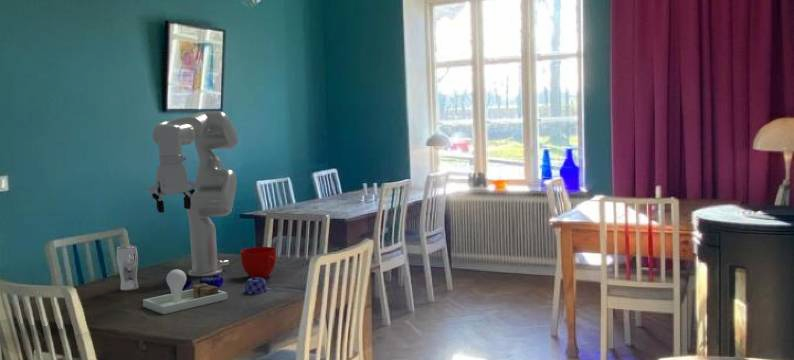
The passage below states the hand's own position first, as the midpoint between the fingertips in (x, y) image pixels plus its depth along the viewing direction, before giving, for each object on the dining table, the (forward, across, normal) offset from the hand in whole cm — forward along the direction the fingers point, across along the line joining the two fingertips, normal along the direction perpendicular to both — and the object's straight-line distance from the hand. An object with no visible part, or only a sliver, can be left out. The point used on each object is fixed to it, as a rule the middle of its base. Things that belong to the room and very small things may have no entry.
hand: (174, 210), depth 245 cm
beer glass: (+28, +10, -18) cm, 35 cm away
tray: (+28, +8, +20) cm, 36 cm away
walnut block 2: (+27, +1, +23) cm, 36 cm away
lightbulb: (+27, +11, +19) cm, 35 cm away
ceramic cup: (+28, -30, +6) cm, 42 cm away
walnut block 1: (+27, +1, +17) cm, 32 cm away
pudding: (+29, -15, +25) cm, 41 cm away
